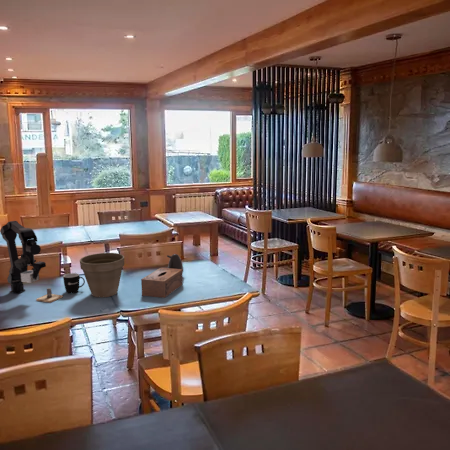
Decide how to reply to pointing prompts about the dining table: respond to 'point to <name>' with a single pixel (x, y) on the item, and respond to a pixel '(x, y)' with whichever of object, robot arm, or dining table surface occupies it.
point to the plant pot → (103, 273)
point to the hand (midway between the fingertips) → (30, 278)
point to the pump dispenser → (175, 262)
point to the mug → (72, 282)
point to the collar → (28, 276)
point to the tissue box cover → (161, 282)
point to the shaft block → (49, 297)
